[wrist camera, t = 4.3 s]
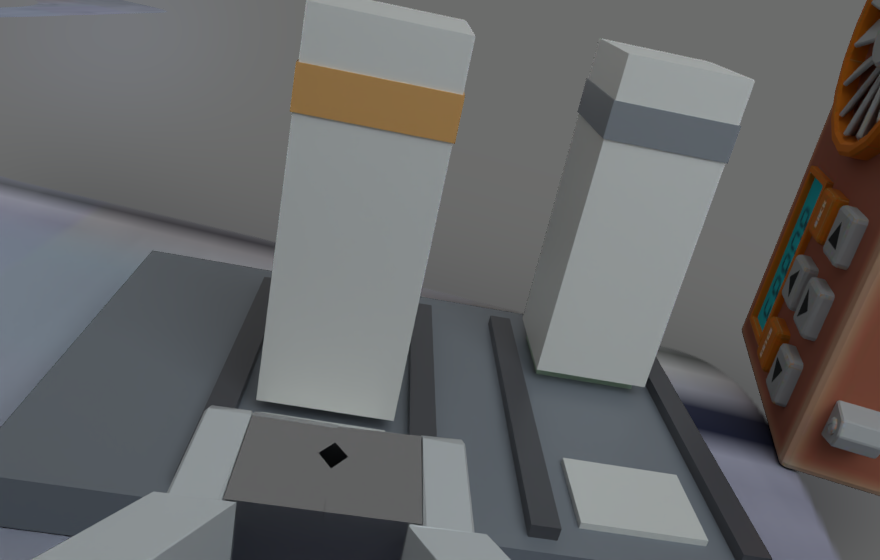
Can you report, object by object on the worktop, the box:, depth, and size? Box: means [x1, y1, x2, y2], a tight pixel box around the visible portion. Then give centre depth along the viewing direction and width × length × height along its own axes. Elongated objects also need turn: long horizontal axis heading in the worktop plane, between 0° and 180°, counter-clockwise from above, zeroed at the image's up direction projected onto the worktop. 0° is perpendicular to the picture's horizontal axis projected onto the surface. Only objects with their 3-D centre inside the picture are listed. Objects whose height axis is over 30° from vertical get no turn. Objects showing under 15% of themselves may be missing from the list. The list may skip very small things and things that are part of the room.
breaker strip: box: [0, 38, 772, 560], centre depth 23 cm, size 20×14×13 cm
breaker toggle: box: [256, 0, 475, 421], centre depth 22 cm, size 4×4×11 cm
